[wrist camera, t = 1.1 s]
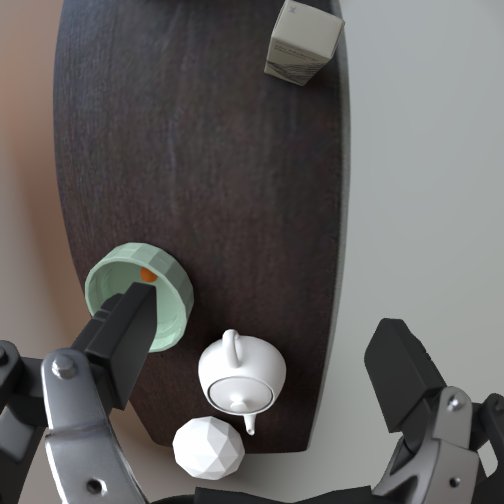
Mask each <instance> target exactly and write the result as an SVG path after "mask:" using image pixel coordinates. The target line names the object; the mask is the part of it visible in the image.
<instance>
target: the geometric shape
mask: <svg viewBox="0 0 504 504" xmlns="http://www.w3.org/2000/svg"><path fill="white" fill-rule="evenodd" d="M173 447H174V452H175V458H176V462H177V463H178V464H179V465H180V466H181V467H183V468H184V469H185V470H186V471H187V472H188V473H189V474H191V475H192V476H193V477H197V478H204V479H212V480H217V479H220V478H222V477H224V476H226V475H228V474H230V473H232V472H234V471H236V470H237V469H238V466H239V464H240V462H241V460H242V458H243V456H244V454H245V450H244V447H243V444H242V440H241V437H240V434H239V433H238V432H237V431H236V430H235V429H234V428H233V427H232V426H231V425H230V424H228V423H226V422H224V421H221V420H219V419H217V418H214V417H212V416H210V417H203V418H196V419H192V420H190V421H189V422H188V423H187V424H185V425H184V426H183V427H182V428H180V429H179V430H178V431H177V433H176V436H175V438H174V441H173Z"/></svg>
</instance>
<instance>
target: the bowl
mask: <svg viewBox="0 0 504 504" xmlns="http://www.w3.org/2000/svg"><path fill="white" fill-rule="evenodd" d="M142 267H145V268H147V269H149V270H150V271H152V272H153V273H154V274H156V275H157V276H158V278H157V280H156V281H154V282H152V283H148V282H145V281H144V280H143V279H142V278H141V275H140V271H141V268H142ZM133 282H139V283H144V284H149V285H154V286H156V290H157V331H156V335H155V339H154V341H153V343H152V345H151V348H150V350H149V352H157V351H164V350H166V349H168V348H170V347H172V346H174V345H175V344H176V343H177V342H178V341H179V340H180V339H181V337H182V336H183V335H184V332H185V329H186V326H187V323H188V321H189V318H190V315H191V312H192V308H193V305H194V294H193V287H192V284H191V282H190V280H189V277H188V275H187V273H186V272H185V270H184V269H183V268H182V267H181V266H180V264H179V263H178V262H177V261H176V259H175V258H173V257H172V256H170V255H169V254H167V253H166V252H165V251H163V250H162V249H160V248H157V247H154V246H151V245H148V244H146V243H127V244H124V245H121V246H118V247H116V248H115V249H113V250H112V251H111V252H110V253H109V254H108V255H107V256H105V257H104V258H103V259H102V260H101V261H100V262H99V263H98V264H97V265H96V266H95V267H94V268H92V269H91V271H90V273H89V275H88V277H87V280H86V283H85V298H86V302H87V305H88V309H89V311H90V313H91V315H92V316H94V314H95V313H96V312H97V311H99V308H100V307H101V305H102V304H103V303H104V302H105V300H106V299H108V298H110V297H112V296H113V295H115V294H117V293H121V294H125V292H126V291H127V290H128V288H129V287H130V286H131V284H132V283H133Z"/></svg>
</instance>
